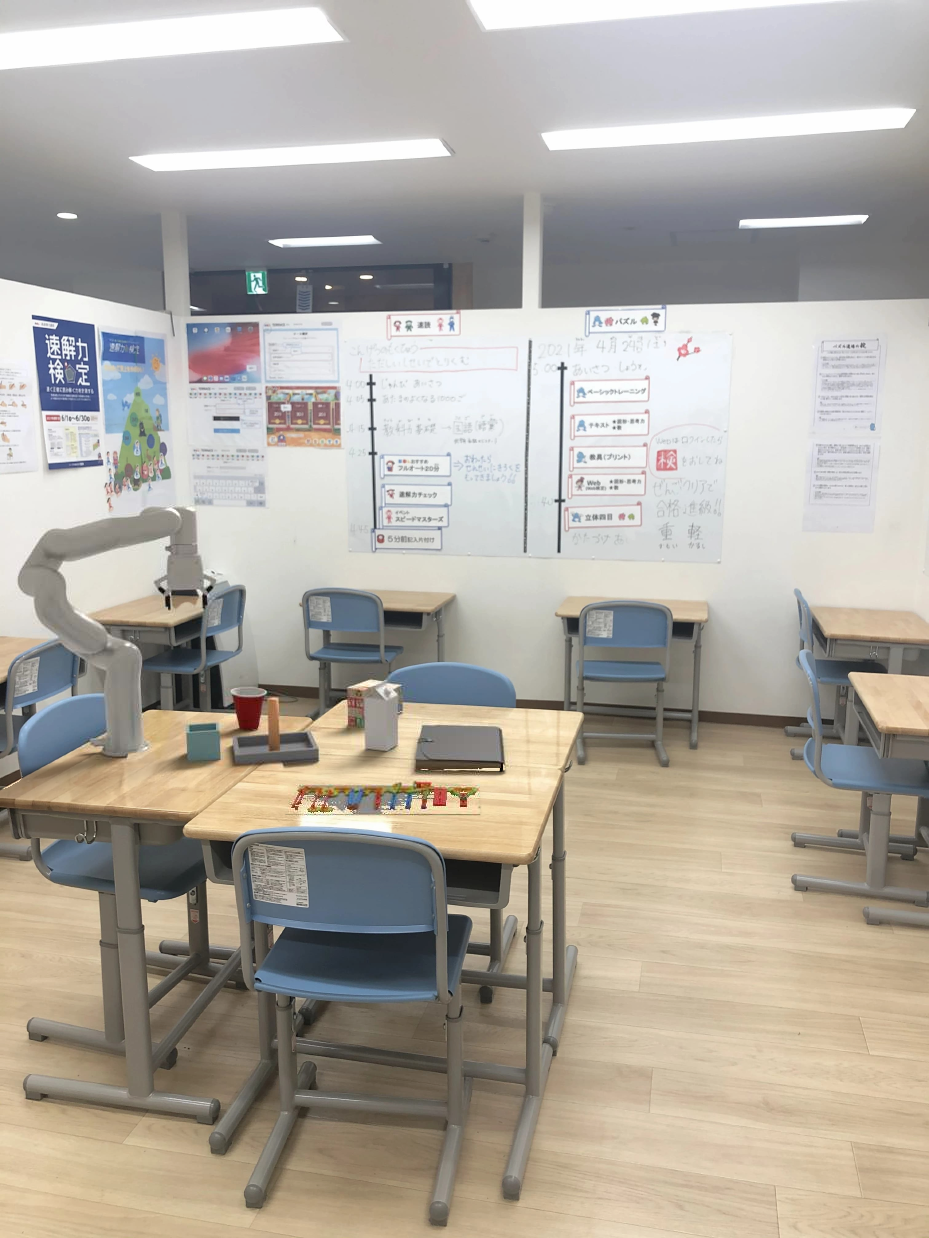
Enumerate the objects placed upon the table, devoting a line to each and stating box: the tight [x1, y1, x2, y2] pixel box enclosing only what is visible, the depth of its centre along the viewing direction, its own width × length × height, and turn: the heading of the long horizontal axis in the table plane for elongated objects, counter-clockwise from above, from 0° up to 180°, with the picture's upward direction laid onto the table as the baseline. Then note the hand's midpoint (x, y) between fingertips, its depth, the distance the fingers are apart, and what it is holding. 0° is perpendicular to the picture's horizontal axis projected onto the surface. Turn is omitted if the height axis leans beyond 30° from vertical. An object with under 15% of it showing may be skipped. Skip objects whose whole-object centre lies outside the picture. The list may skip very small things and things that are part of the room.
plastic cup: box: [230, 686, 267, 731], centre depth 281 cm, size 11×11×12 cm
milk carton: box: [364, 679, 399, 752], centre depth 262 cm, size 7×7×19 cm
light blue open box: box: [185, 721, 222, 763], centre depth 251 cm, size 9×9×9 cm
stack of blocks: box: [346, 679, 404, 729], centre depth 293 cm, size 21×6×12 cm, turn 149°
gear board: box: [291, 780, 480, 814], centre depth 222 cm, size 45×2×19 cm
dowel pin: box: [266, 697, 280, 751], centre depth 255 cm, size 3×3×15 cm
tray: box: [231, 730, 320, 766], centre depth 256 cm, size 22×18×4 cm
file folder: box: [414, 724, 506, 771], centre depth 259 cm, size 33×4×24 cm
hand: (186, 608), depth 268 cm, fingers open, 9 cm apart
